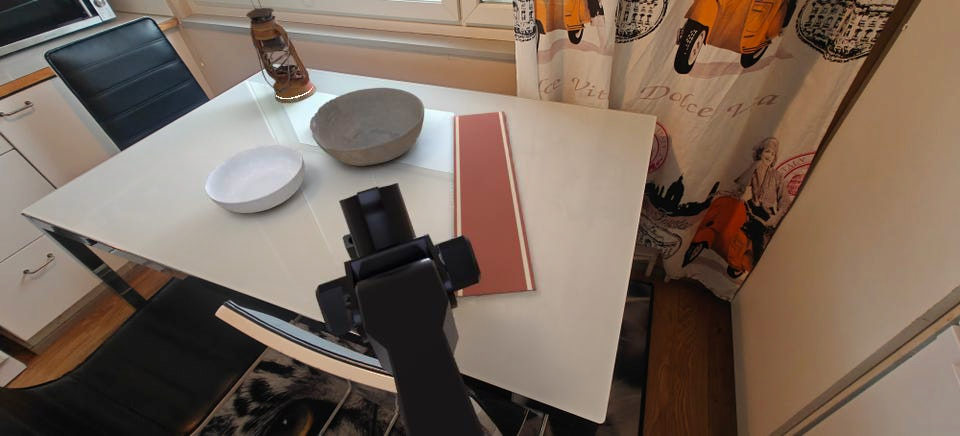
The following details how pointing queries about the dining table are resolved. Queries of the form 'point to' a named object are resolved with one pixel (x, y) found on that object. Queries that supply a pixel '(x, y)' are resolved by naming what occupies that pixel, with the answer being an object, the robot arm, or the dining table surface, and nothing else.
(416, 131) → the bowl
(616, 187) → the dining table surface
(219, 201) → the serving bowl
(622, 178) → the dining table surface
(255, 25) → the lantern
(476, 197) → the red table runner
